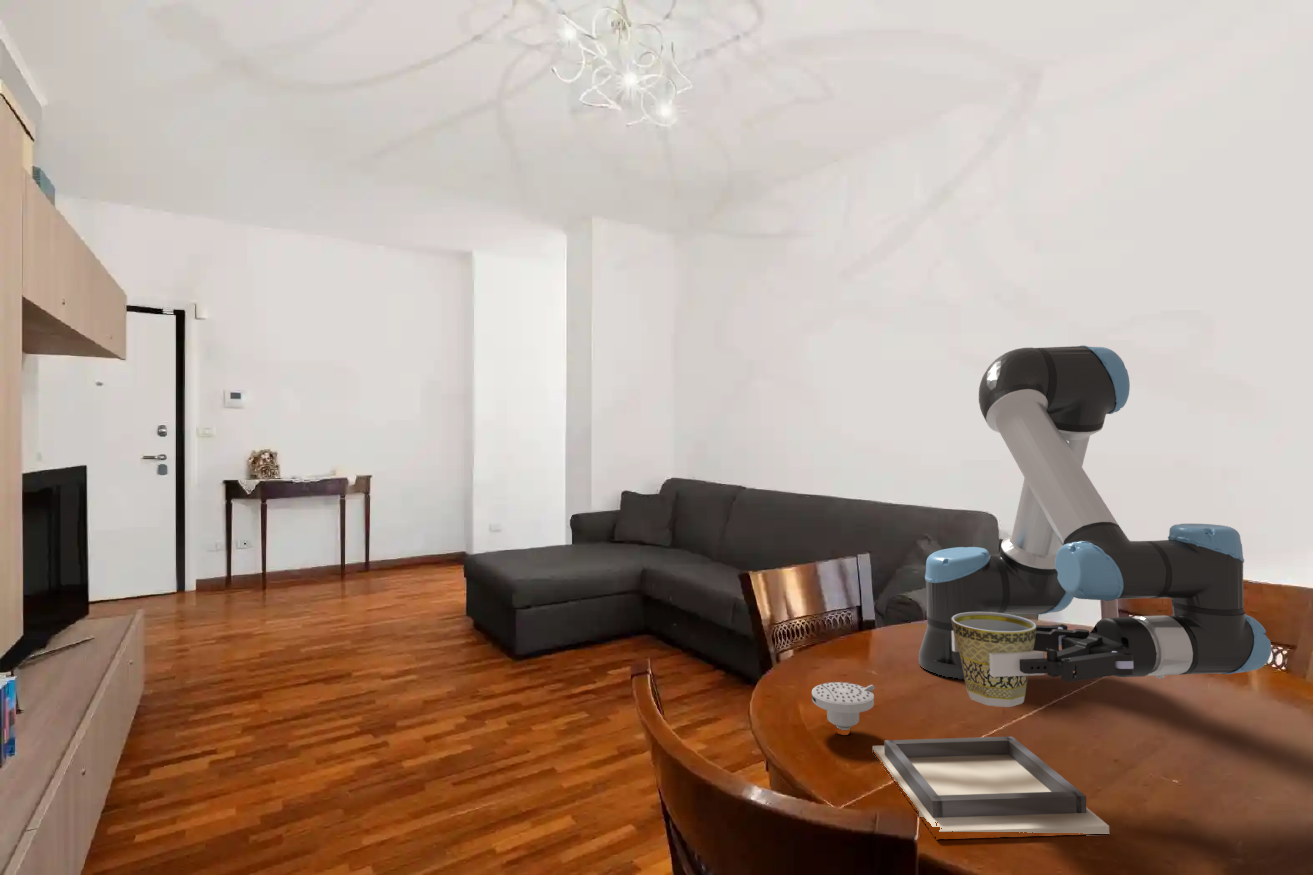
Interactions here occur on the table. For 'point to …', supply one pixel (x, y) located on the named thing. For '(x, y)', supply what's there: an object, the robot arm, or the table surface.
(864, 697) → the showerhead
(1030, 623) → the ceramic cup
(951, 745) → the square frame board
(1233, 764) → the table surface
